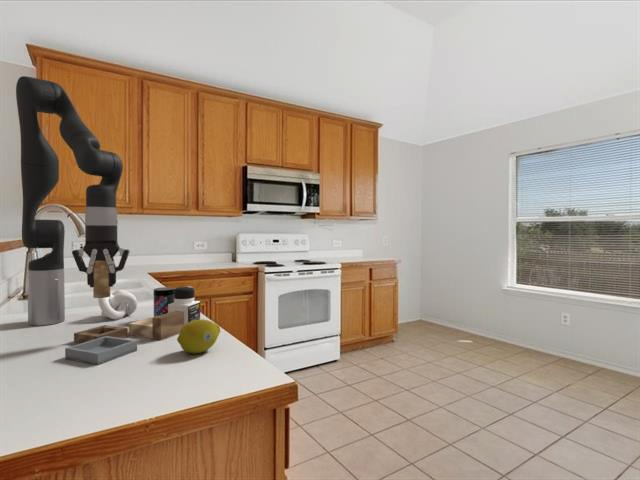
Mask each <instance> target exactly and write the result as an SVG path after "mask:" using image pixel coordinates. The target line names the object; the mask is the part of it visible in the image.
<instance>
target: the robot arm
mask: <svg viewBox="0 0 640 480" xmlns="http://www.w3.org/2000/svg"><path fill="white" fill-rule="evenodd" d="M15 98H16V106H17V114H18V115H17V116H18V123H19V130H20V131H19V133H20V173H21V188H22V215H21V217H22V218H21V219H22V220H21V241H22V245H23V246H24V247H25V248H26V249H51V250H50V252H49V253H48V254H46V255H44V256H42V257H38V258H36V259H35V258H34V259H31V260H30V261H29V262H28V267H27V268H28V269H27V270H28V293H27V323H28V325H30V326H49V325H56V324H60V323H63V322H65V319H66V318H65V317H66V315H65V314H66V313H65V311H66V307H65V306H66V305H65V304H66V303H65V301H66V299H65V261H64V260H65V259H64V257H65V255H64V253H65V251H64V250H65V249H64V248H65V235H66V234H65V232H66V231H65V225H64V223H63V221H62V220H60V219H36V214H37V212H38V210H39V208H40V207H41V205H42V203H43V201H45V199H46V198H47V197H48V196H49V195H50V194H51V193H52V191H53V190H54V188H55V187H56V186H57V184H58V183H59V180H60V161H59V157H58V155H57V153H56V151H55V150H54V148H53V146H52V145H51V144H50V143H49V141H48V140H47V138H46V137H45V135H44V134H43V132H42V129H41V127H40V123H39V120H38V119H39V118H38V113H43V114H51V115H57V116H58V117H59V118H60V119H61V120H60V122H59V127H58V130H59V133H60V136H61V138H62V140H63V141H64V142H65V144H66V145H67V147H68V148H70V150H71V151H72V152H73V156H74V158H75V162H76V165H77V167H78V169H79V170H80V171H82V172H83V173H84V174H87V175H90V176H94V177H101V179H100V181H99V183H98V184H91V185H88V186H87V187H86V189H85V196H86V197H85V213H84V229H85V230H84V233H85V236H84V237H85V240H84V241H85V243H84V245H83V247H82V248H80V249H74V250H72V252H71V254H72V257H73V259H74V262H75V263H76V266H77V268H78V271H79V272H80V273H81V272H83V273H85V274H86V275H87V277H86V279H87V282H86V283H87V286H89V287H90V288H93V268H94V263H95V261H107V265H108V266H109V270H110V273H109V287H110V288H113V287H114V286H115V285H116V283H117V272H120V271H123V270H124V268H125V265H126V263H127V260H128V257H129V254H130V253H131V251H130V249H126V248H122V247H120V245H119V243H118V224H119V223H118V213H117V191H118V188H119V184H120V182H121V181H120V180H121V177H122V174H123V170H124V165H123V161H122V159H121V157H120V155H118V154H117V153H115V152H112V151H107V150H104V149H101V143H100V141H99V139H98V138H97V137H96V135H95V134H94V133H93V132H92V130H90V129H89V128H88V126H87V125H86V124H85V123H84V121H83V119H82V118H81V116H80V115H79V113H78V111H77V110H76V107H75V105H74V104H73V102H72V100H71V99H70V97H69V94H68V93H67V92H66V90H65V89H64V88H63V87H62V86H61V85H60V84H59V83H57V82H55V81H50V80H46V79H42V78H36V77H31V76H24V75H22V76H20V77H19V78H18V80H17V81H16V86H15ZM84 252H85V253H84ZM118 252H119V256H120V257H121V258H120V260H119V263H118V265H117V266H116V263H115V258H114V257H115V256H116V255H117V253H118ZM84 254H86V255H87V256H88V258H89V261H88V265H87V266H86V264H85V261H84V258H83V257H84Z"/></svg>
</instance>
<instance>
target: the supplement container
mask: <svg viewBox="0 0 640 480" xmlns="http://www.w3.org/2000/svg"><path fill="white" fill-rule="evenodd" d="M175 289H176V288H175V287H170V286H169V287H168V286H166V287H165V286H164V287H156V288H153V289H152V290H153V293H152V294H153V317H156V316H160V315H163V314H167V313H168V304H171V303H174V302H175V301H174V290H175Z"/></svg>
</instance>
